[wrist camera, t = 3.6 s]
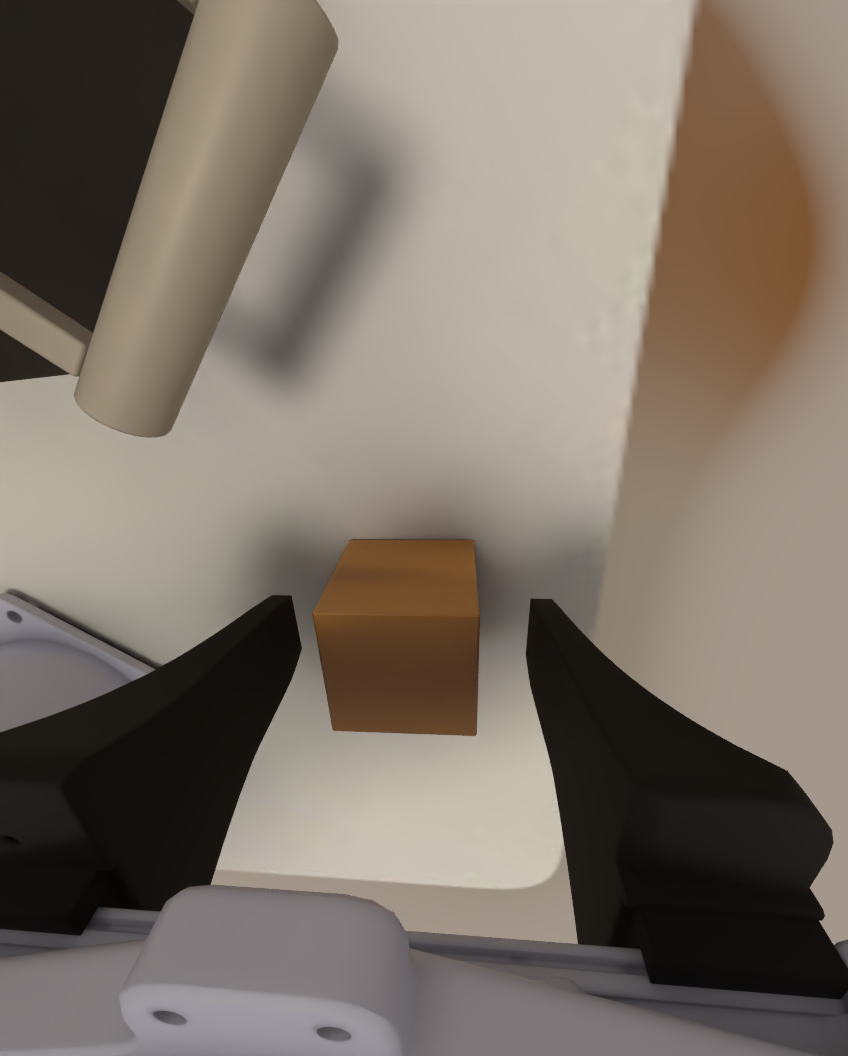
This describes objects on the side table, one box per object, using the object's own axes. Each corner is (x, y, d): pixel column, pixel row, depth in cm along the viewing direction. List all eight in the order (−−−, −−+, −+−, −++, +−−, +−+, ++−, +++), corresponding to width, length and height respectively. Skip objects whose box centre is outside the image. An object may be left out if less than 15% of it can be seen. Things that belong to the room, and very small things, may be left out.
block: (472, 639, 15) (476, 737, 12) (361, 637, 15) (332, 731, 12) (473, 539, 14) (479, 615, 10) (349, 539, 14) (311, 613, 10)
